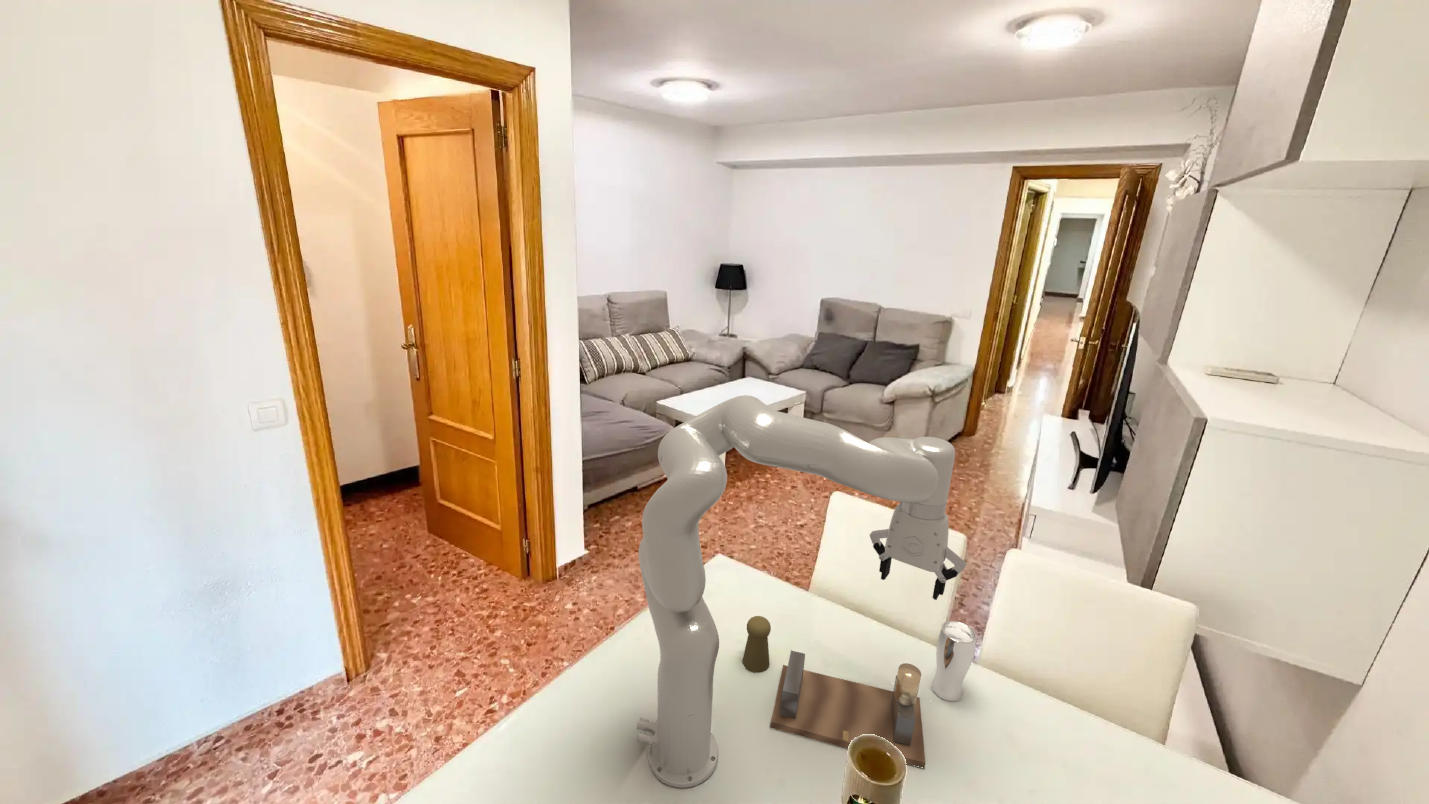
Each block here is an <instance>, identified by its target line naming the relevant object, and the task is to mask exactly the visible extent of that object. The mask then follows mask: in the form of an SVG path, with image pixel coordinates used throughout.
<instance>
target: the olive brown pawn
mask: <svg viewBox="0 0 1429 804" xmlns="http://www.w3.org/2000/svg"><path fill="white" fill-rule="evenodd" d="M771 629H772V627H771V623H770V621H769V620H768V619H767V618H766V617H764V616H761V615H756V616H755V615H754V616H752V617H750V618H749V619H748V621H747V624H746V631H747V634H748V635H747V637H746V638H747V639H746V644H745V646H744V652H743V656H742V660H741V661H742V665H743V667H744V669H745V670H747V671H748V672H751V673H756V674H760V673H764V672H766V671H768V669H769V668H770V666H771V665H770V663H771V662H770V650H769V638H768V637H769V636H770V634H771V631H772V630H771Z"/></svg>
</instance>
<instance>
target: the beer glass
mask: <svg viewBox="0 0 1429 804" xmlns="http://www.w3.org/2000/svg"><path fill="white" fill-rule="evenodd" d="M977 639H978V638H977V633H976V631H975V630H974V629H973V628H971V627H970V626H969V625H967V624H966V623H964V622H960V621H957V620H948V621H945V622H943V623H942V624H941V628H940V632H939V635H938V638H937V643H936V652H935V654H936V656H935V657H936V659H935V660H936V662H935V663H936V669H935V670H936V671H935V675H934V678H933V679H932V681H931V684H930V686H931V689H932V692H933V693H934V694H935V695H936V696H937V697H938V698H940V699H942V700H944V701H946V702H951V703H952V702H953V703H954V702H958V701H960V700H961V699H962V698H963V694H964V693H963V684H964V680H965V678H966V677H967V674H968V672H969V670H970V668H971V665H972V663H973V661H974V657H975V656H974V655H975V651H976V643H977V642H976V641H977Z"/></svg>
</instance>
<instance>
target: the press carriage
mask: <svg viewBox="0 0 1429 804" xmlns="http://www.w3.org/2000/svg"><path fill="white" fill-rule="evenodd" d="M921 677H922V672H921V670H920V669H919V668H918V667H917V666H915V665H913V664H911V663H909V662H908V663H901V664H900V665H898V669H897V675H895V680H894V685H893V690H892V691H893V696H892V717H893V741H894V742H898V743H901V744H905V745H909V746H910V745H911V739H912V734H913V729H914V724H915V712H914V704H915V703H916V700H917V697H918V694H919V688H920V683H921Z"/></svg>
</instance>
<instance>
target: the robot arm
mask: <svg viewBox="0 0 1429 804" xmlns="http://www.w3.org/2000/svg"><path fill="white" fill-rule="evenodd" d="M733 448H735V450H736V451H737V452H738V453H739V454H740V455H741V456H742V457H743V458H744V459H746V460H748V461H750V462H752V463H756V464H758V465H764V466H768V467H770V466H771V467H775V468H780V469H786V470H791V471H796V472H802V473H804V474H805V473H806V474H810V475H816V476H820V477H822V478H825V479H827V480H828V481H832V482H834V483H837V484H840V485H842V486H845V487H848V488H851V489H853V490H855V491H859V492H861V493H864V494H867V495H870V496H873V497H876V498H881V499H884V500H889V501H894V502H898V504H897V505H896V506H895V508H894V509H893V510H894V511H893V513H892V516H891V520H890V524H889V527H888V528H886V529H878V530H872V531H871V532H870V533H869V537H870V540H871V544H872V548H873V549H874V551H875V552H876V553H877V555H878V559H879V561H880V563H879V573H881V575H880V579H881V580H883V581H884V580H885V581H886V579H887V577H888V576H889V574H890V572H891V565H892V559H893V560H896V561H898V562H901V563H903V564H907V565H909V566H912V567H915V568H918V569H921V570H923V571H927V572H929V573H934V574H935V576H936V579H935V581H934V587H933V593H932V599H933V600H935V601H937V599H938V598H939V596H943V595H944V592H945V590H946V589H945V588H946V583H947V581H948V580H951V579H954V578H957V576H958V575H959V574H961V572H963V571H964V570H965V569H966V568H967V567H966V566H967V562H966V561H965V560H964V559H963V558H962V557H960V556H959V555H958V554H957V553H955V552H954V551H953V550H952V549H950V548H949V547H948V545H949V530H950V529H949V515H947V513H946V510H947V503H948V497H949V493H950V487H951V483H952V482H951V481H952V475H953V472H954V471H953V469H954V464H955V459H956V458H955V457H956V449H955V447H954V445H953V444H952V443H951V442H949V441H948V440H945V439H943V438H939V437H934V436H919V437H916V438H902V437H901V438H898V437H891V436H890V437H887V436H886V437H885V436H884V437H877V438H875V439H873V440H872V439H871V440H870V441H868V442H867V441H865V440H863V439H861V438H859V437H858V436H856V435H854V434H853V433H851V432H849V431H847V430H846V429H843V428H842V427H841V428H840V427H839V426H837V425H835V424H831V423H828V422H824V421H819V420H817V419H816V420H815V419H810V418H808V417H802V416H798V415H794V414H790V413H786V412H783V411H782V412H781V411H779V410H775V409H772V408H771V407H769V406H768V405H767V404H765V403H764V402H763V401H762V400H760V399H759V398H757V397H755V396H753V395H748V394H743V395H737V396H735V397H732V398H730V399H727V400H725V401H723V402H721V403H719V404H717V405H715V406H712V407H711V408H709V409H707V410H705V411H703V412H701V413H700V414H697V415H695V416H694V417H691V418H690V419H688V420H686V421H684V422H682V423H681V424H678V425H677V426H675V427H673V428H672V429H671V430H670V431H669V432H667V433H666V434H665V435H664V437H663V438H662V439H661V440H660V442H659V445H658V449H657V459H658V463H659V465H660V467H661V470H662V471H663V473H664V475H665V477H666V478H667V480H666V481H665V482H664V483H663V484H662V485H661V486H659V487H658V488H657V490H656V491H655V492H654V493H652V494H653V495H652V496H651V497H650V499H649V500H648V501H647V503H646V505H645V507H644V509H643V512H642V518H641V524H642V527H641V528H642V535H643V537H642V539H641V540H640V543H639V546H638V561H639V567H640V571H641V577H642V581H643V582H642V583H643V586H644V587H643V588H644V592H645V597H646V602H647V605H648V610H649V613H650V617H651V620H652V622H653V626H654V631H655V633H656V638H657V641H658V645H659V654H660V657H659V658H660V660H659V664H658V669H657V720H655V721H651V720H649V719H647V718H643V717H639V718H638V720H637V722H636V723H637V724H636V729H637V730H639V731H642V732H639V734H638V737H637V741H638V742H641V743H643V744H644V743H646V744H649V746H648V751H647V752H648V753H647V754H648V755H647V756H648V763H649V768H650V769H651V771H652V773H653V774H654V776H655V777H656V778H657V779H658V780H660V781H661V782H662V783H664V784H665V785H668V786H670V787H672V788H673V787H674V788H679V789H681V788H682V789H683V788H690V787H691V788H692V787H695V786H697V785H699V784H702V783H704V782H705V781H706V780H707V779H708V778H710V777H711V775H712V774H713V773H714V771H715V770H716V768H717V767H716V766H717V764H718V760H719V745H718V742H717V739H716V737H715V735H713V732H712V719H713V718H712V715H713V713H712V712H713V698H714V697H713V692H714V676H715V675H714V672H715V665H716V661H717V657H718V654H719V650H720V649H719V648H720V637H719V632H718V627H717V626H716V623H715V620H714V618H713V615H712V614H711V612H710V609H709V607H708V605H707V603H706V602H705V599H704V596H703V595H704V592H705V589H706V581H707V579H706V578H707V577H706V569H705V565H704V561H703V554H702V548H701V542H700V531H699V529H700V528H699V524H700V521H701V519H702V517H703V516H704V515H705V514H706V513H707V512H708V511H709V510H710V508H712V507H714V505H715V504H717V502H718V501H719V500H720V498H721V497H722V495H723V494H724V492H725V489H726V487H727V482H728V472H727V468H726V466H725V463H724V462H723V460H722V459H721V457H720V456H721V455H723V454H725V453H727V452H729V451H730V450H732V449H733ZM881 539H886V541H885V544H883V542H882V541H881ZM946 559H947V560H948V561H949V562H950V563H952V564H953V565H954V566H953V567H951V568H948V567H947V566H946V564H945V561H946ZM644 732H645V733H644ZM646 732H648V733H651V734H652V735H649V734H647V733H646Z"/></svg>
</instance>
